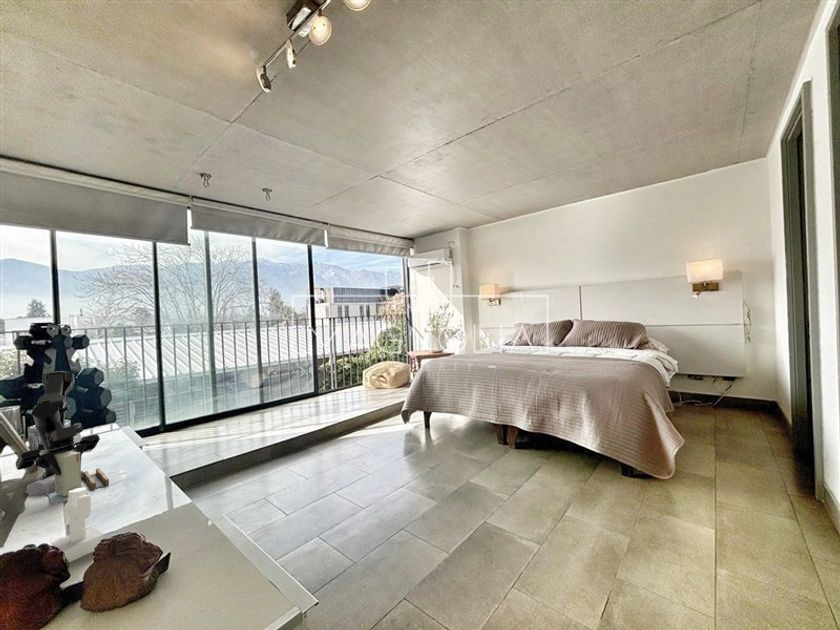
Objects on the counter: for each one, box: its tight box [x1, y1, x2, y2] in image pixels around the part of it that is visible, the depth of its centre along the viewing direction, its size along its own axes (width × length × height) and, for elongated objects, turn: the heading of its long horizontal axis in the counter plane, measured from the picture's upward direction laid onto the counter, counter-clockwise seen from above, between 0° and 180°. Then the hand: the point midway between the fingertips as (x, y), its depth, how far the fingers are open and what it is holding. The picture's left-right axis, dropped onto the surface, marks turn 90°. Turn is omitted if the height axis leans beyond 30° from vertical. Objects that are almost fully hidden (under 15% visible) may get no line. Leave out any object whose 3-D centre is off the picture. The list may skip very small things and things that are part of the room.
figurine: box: [50, 487, 105, 563], centre depth 82 cm, size 7×9×15 cm
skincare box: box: [54, 451, 82, 496], centre depth 112 cm, size 6×4×12 cm
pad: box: [47, 484, 89, 506], centre depth 112 cm, size 10×8×1 cm
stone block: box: [26, 470, 85, 495], centre depth 119 cm, size 12×5×10 cm
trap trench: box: [83, 467, 110, 490], centre depth 121 cm, size 16×4×2 cm, turn 51°
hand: (70, 471), depth 111 cm, fingers closed on skincare box, 4 cm apart
